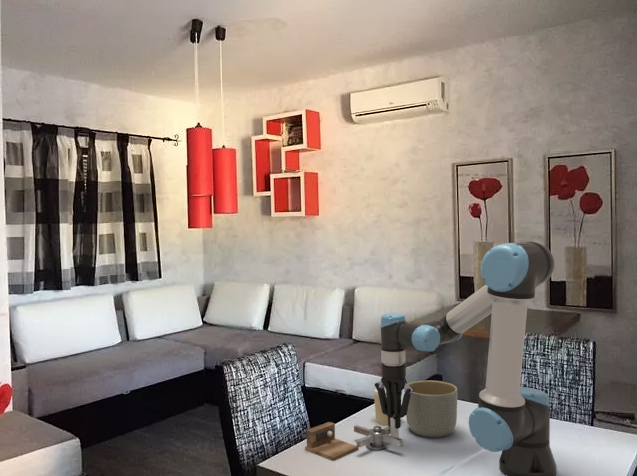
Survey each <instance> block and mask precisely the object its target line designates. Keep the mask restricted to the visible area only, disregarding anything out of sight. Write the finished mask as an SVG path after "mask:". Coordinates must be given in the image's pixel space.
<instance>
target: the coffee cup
mask: <svg viewBox="0 0 637 476" xmlns="http://www.w3.org/2000/svg"><path fill="white" fill-rule="evenodd" d="M384 389H385V387H384ZM385 393H386V389H385ZM373 396H374V411H375V420H376V421H375V422H376V423H377V424H379V425H381V426H388V416H387V415H386V414H383V413H382V409H381V404H380V400H379V395H378V391H377V389H376V388H374V390H373ZM386 397H387V395H386Z"/></svg>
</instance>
